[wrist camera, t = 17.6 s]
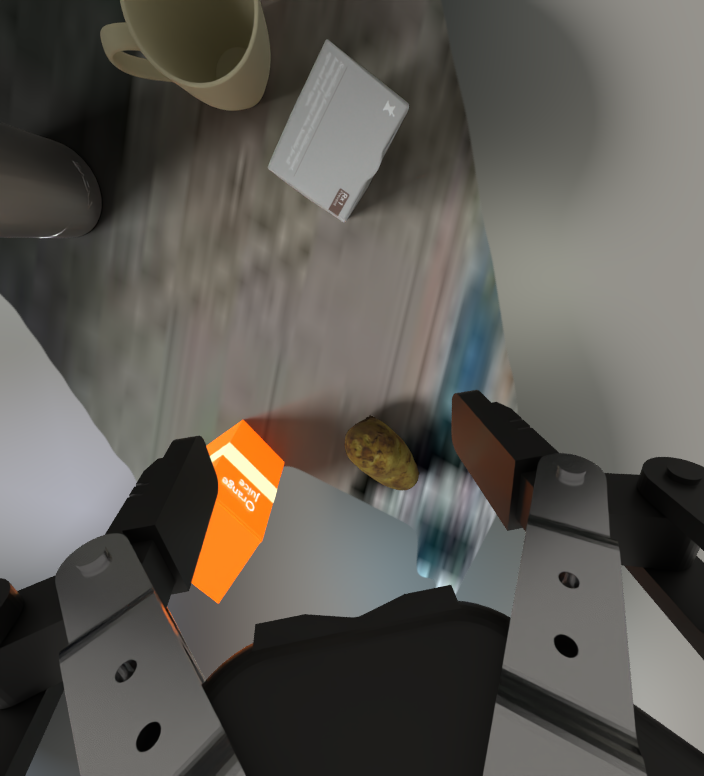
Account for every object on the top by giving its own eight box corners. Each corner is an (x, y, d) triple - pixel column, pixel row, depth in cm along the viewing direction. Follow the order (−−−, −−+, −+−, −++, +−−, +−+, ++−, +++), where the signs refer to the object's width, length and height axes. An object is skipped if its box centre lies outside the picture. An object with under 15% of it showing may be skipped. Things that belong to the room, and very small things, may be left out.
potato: (363, 485, 53) (366, 524, 46) (338, 410, 48) (336, 441, 41) (418, 472, 52) (429, 510, 45) (398, 394, 47) (407, 423, 40)
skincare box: (331, 109, 35) (319, 16, 21) (390, 154, 37) (418, 97, 22) (290, 191, 38) (254, 160, 23) (347, 229, 39) (346, 224, 25)
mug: (217, -21, 32) (147, -161, 20) (306, 72, 34) (285, -8, 23) (156, 95, 35) (66, 27, 24) (241, 172, 37) (196, 143, 26)
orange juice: (243, 418, 48) (179, 528, 30) (285, 462, 51) (250, 587, 33) (202, 447, 50) (117, 569, 32) (245, 488, 53) (190, 622, 34)
